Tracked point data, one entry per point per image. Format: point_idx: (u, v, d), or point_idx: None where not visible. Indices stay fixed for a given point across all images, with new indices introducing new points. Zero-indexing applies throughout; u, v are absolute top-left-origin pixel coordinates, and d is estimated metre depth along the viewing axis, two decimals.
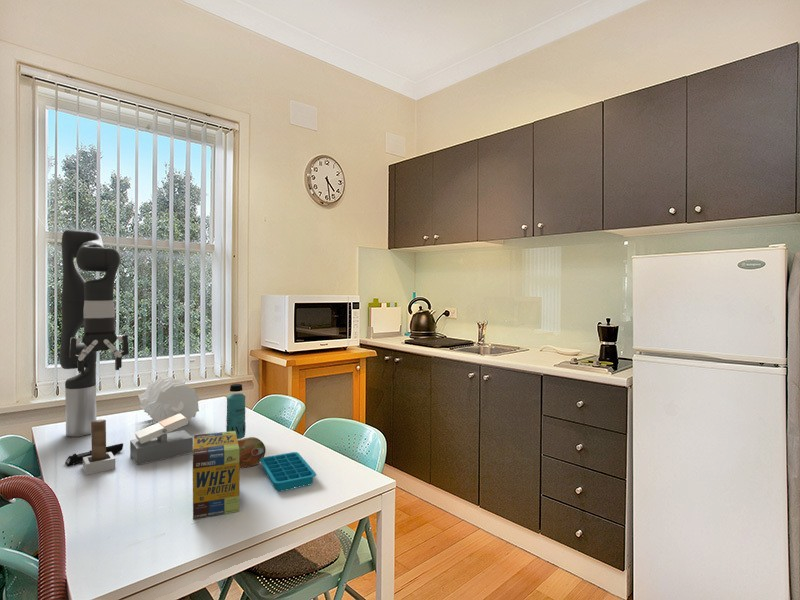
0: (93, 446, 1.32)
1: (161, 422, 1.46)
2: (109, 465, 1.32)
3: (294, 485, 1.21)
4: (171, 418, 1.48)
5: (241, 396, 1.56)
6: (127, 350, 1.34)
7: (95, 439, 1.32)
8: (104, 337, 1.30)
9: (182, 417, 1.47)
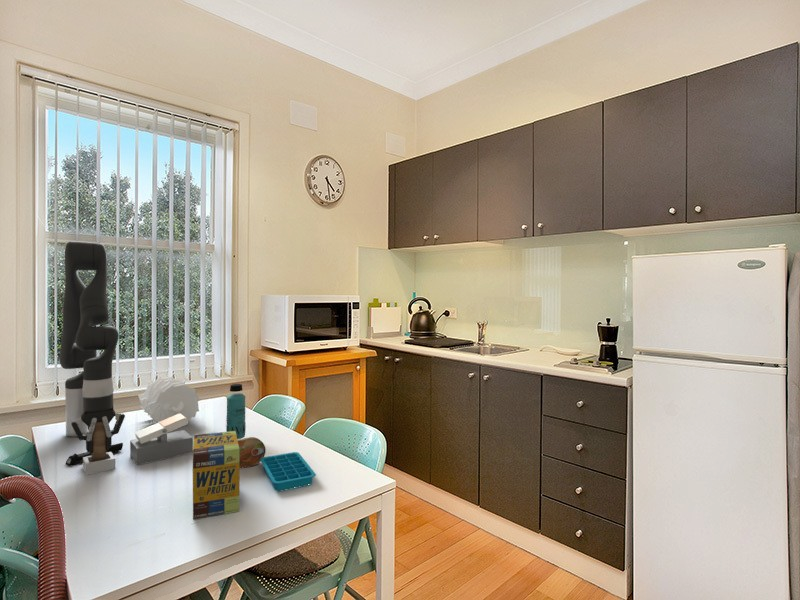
0: (93, 446, 1.32)
1: (161, 422, 1.46)
2: (109, 465, 1.32)
3: (293, 485, 1.21)
4: (171, 418, 1.48)
5: (241, 396, 1.56)
6: (118, 430, 1.36)
7: (95, 439, 1.32)
8: (103, 414, 1.33)
9: (182, 417, 1.47)
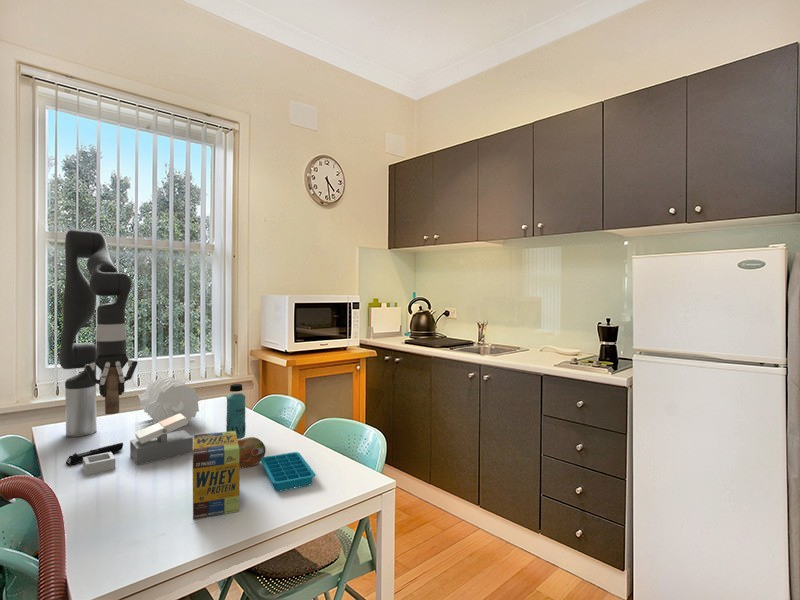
0: (106, 390, 1.34)
1: (161, 422, 1.46)
2: (109, 465, 1.32)
3: (293, 485, 1.21)
4: (171, 418, 1.48)
5: (241, 396, 1.56)
6: (131, 376, 1.37)
7: (108, 383, 1.33)
8: (116, 359, 1.35)
9: (182, 417, 1.47)
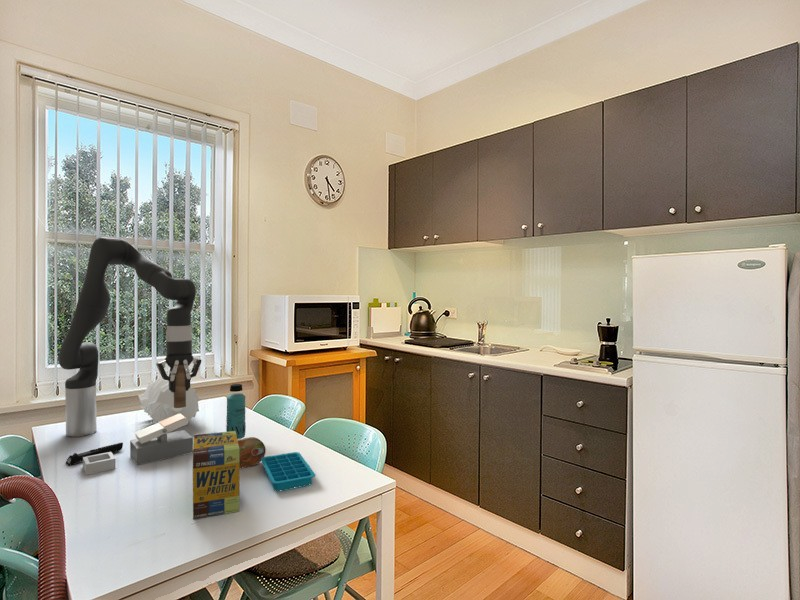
0: (175, 386, 1.46)
1: (161, 422, 1.46)
2: (109, 465, 1.32)
3: (293, 485, 1.21)
4: (171, 418, 1.48)
5: (241, 396, 1.56)
6: (196, 373, 1.50)
7: (177, 380, 1.46)
8: (183, 358, 1.47)
9: (182, 417, 1.47)
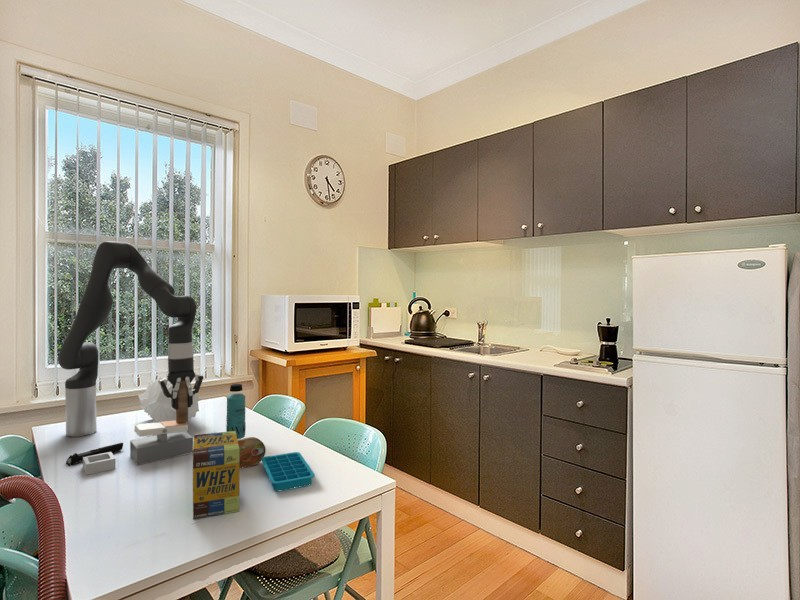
0: (178, 402, 1.47)
1: (162, 422, 1.46)
2: (109, 465, 1.32)
3: (292, 485, 1.21)
4: (173, 421, 1.48)
5: (241, 396, 1.56)
6: (198, 389, 1.50)
7: (179, 395, 1.46)
8: (185, 374, 1.48)
9: (184, 423, 1.47)
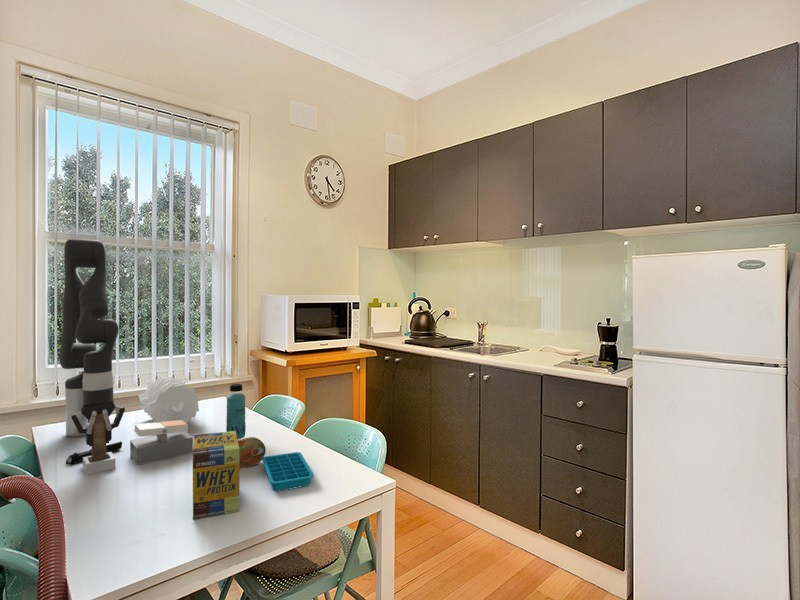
0: (93, 438, 1.32)
1: (162, 422, 1.46)
2: (109, 465, 1.32)
3: (291, 485, 1.21)
4: (173, 422, 1.48)
5: (241, 396, 1.56)
6: (118, 423, 1.36)
7: (95, 431, 1.31)
8: (103, 407, 1.33)
9: (184, 423, 1.47)
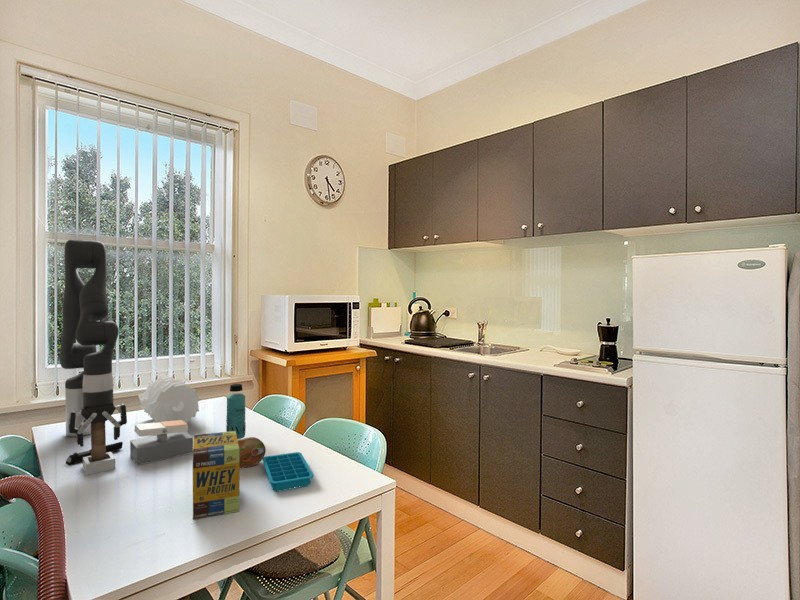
0: (93, 445, 1.32)
1: (162, 422, 1.46)
2: (109, 465, 1.32)
3: (291, 485, 1.21)
4: (173, 422, 1.48)
5: (241, 396, 1.56)
6: (125, 420, 1.37)
7: (94, 438, 1.32)
8: (103, 409, 1.33)
9: (184, 423, 1.47)
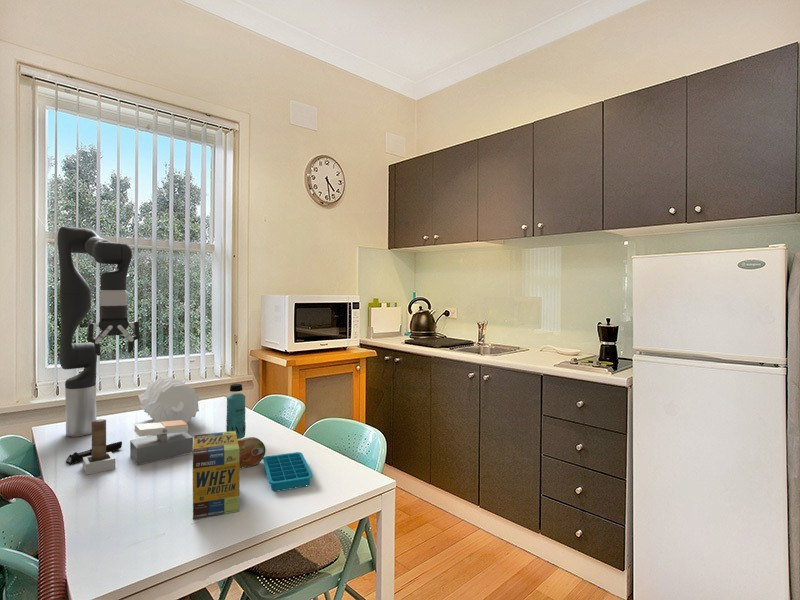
0: (93, 446, 1.32)
1: (162, 422, 1.46)
2: (109, 465, 1.32)
3: (290, 486, 1.21)
4: (173, 422, 1.48)
5: (241, 396, 1.56)
6: (138, 335, 1.49)
7: (95, 439, 1.32)
8: (118, 323, 1.45)
9: (184, 423, 1.47)
